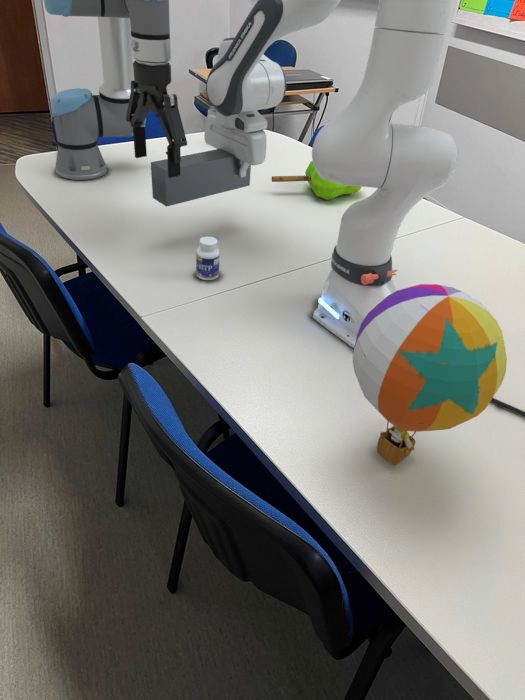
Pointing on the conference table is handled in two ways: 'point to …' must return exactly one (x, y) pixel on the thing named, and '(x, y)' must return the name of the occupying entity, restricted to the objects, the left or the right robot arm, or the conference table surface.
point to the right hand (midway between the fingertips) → (232, 171)
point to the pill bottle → (207, 259)
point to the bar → (197, 177)
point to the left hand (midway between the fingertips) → (157, 166)
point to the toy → (427, 362)
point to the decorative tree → (319, 184)
